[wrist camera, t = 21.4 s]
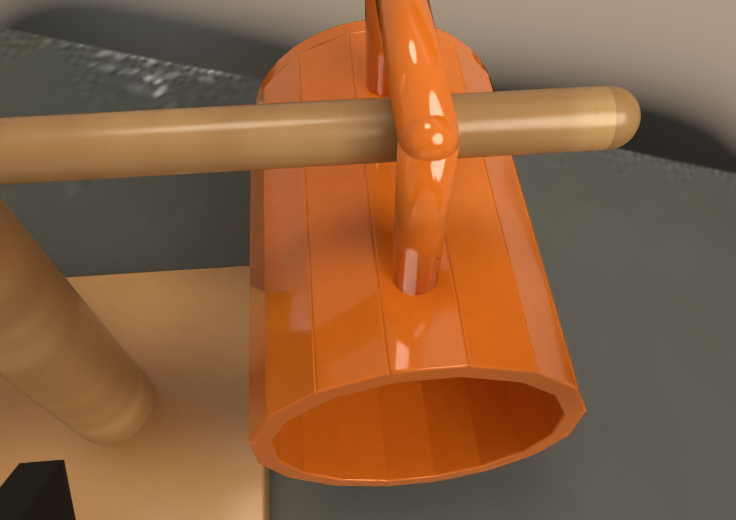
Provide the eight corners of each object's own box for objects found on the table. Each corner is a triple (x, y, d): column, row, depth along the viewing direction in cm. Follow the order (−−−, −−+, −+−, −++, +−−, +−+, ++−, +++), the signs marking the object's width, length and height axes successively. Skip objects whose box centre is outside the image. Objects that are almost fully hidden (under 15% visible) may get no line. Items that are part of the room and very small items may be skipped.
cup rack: (522, 539, 25) (962, 250, 7) (-57, 587, 25) (-1402, 406, 6) (473, 267, 31) (635, -285, 13) (6, 297, 31) (-558, -251, 12)
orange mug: (477, 189, 28) (544, 471, 22) (269, 204, 28) (273, 497, 21) (548, -165, 17) (738, 205, 10) (198, -147, 16) (157, 251, 10)
